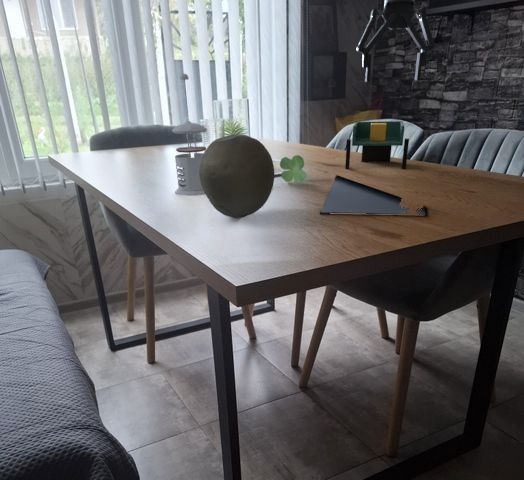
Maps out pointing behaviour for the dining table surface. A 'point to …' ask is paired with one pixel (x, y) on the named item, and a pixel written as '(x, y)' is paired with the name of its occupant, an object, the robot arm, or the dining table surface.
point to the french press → (189, 157)
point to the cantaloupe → (237, 175)
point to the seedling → (293, 169)
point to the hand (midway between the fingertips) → (392, 81)
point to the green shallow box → (391, 139)
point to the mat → (361, 199)
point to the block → (378, 132)
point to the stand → (376, 153)
